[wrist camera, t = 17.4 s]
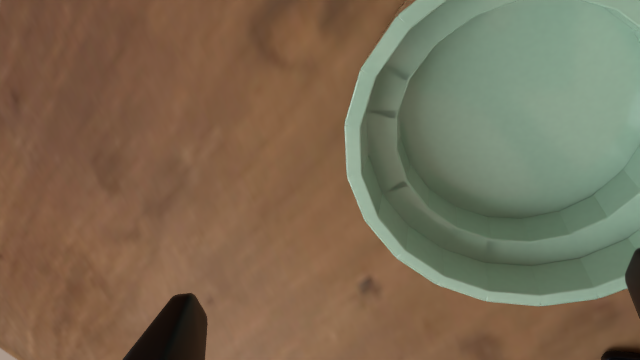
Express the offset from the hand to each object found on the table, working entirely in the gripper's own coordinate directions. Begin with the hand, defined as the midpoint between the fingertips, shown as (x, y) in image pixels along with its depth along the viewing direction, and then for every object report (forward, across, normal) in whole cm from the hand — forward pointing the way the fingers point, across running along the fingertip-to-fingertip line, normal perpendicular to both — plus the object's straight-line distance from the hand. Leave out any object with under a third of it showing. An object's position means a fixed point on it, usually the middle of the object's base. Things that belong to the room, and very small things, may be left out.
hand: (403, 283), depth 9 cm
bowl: (+11, -6, +4) cm, 13 cm away
